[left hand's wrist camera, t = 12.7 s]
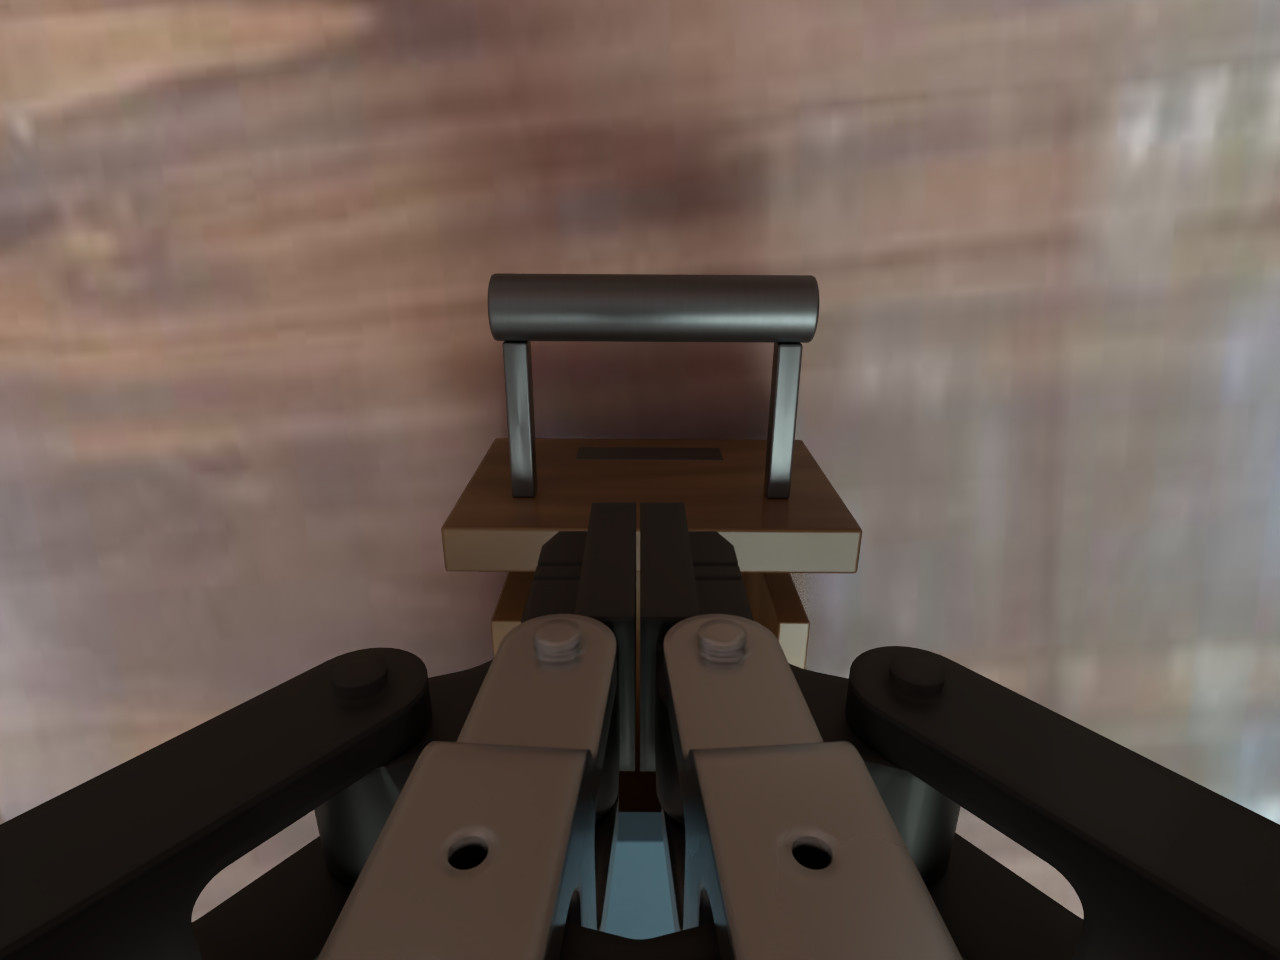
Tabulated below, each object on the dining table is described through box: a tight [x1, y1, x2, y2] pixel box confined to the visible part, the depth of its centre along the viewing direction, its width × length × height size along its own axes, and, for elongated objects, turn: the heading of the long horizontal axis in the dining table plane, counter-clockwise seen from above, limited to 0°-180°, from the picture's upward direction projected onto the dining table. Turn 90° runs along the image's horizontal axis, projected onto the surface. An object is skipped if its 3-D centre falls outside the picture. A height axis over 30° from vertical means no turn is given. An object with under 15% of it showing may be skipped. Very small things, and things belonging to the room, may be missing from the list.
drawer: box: [441, 274, 862, 812], centre depth 23 cm, size 25×10×7 cm, turn 0°
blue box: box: [605, 812, 675, 939], centre depth 27 cm, size 21×11×9 cm, turn 0°
